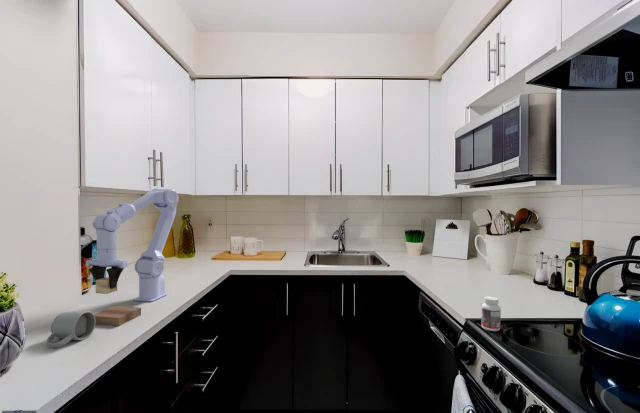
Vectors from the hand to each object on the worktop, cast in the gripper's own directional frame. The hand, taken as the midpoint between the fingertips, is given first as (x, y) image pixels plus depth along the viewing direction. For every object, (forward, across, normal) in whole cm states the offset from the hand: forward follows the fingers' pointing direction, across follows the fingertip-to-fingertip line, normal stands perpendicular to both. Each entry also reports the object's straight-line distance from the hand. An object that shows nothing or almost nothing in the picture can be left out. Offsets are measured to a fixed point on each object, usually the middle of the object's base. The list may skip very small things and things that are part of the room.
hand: (106, 287), depth 117 cm
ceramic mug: (+9, +8, -22) cm, 25 cm away
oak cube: (+2, 0, 0) cm, 2 cm away
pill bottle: (+9, +129, +12) cm, 130 cm away
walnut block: (+9, +9, -6) cm, 14 cm away
